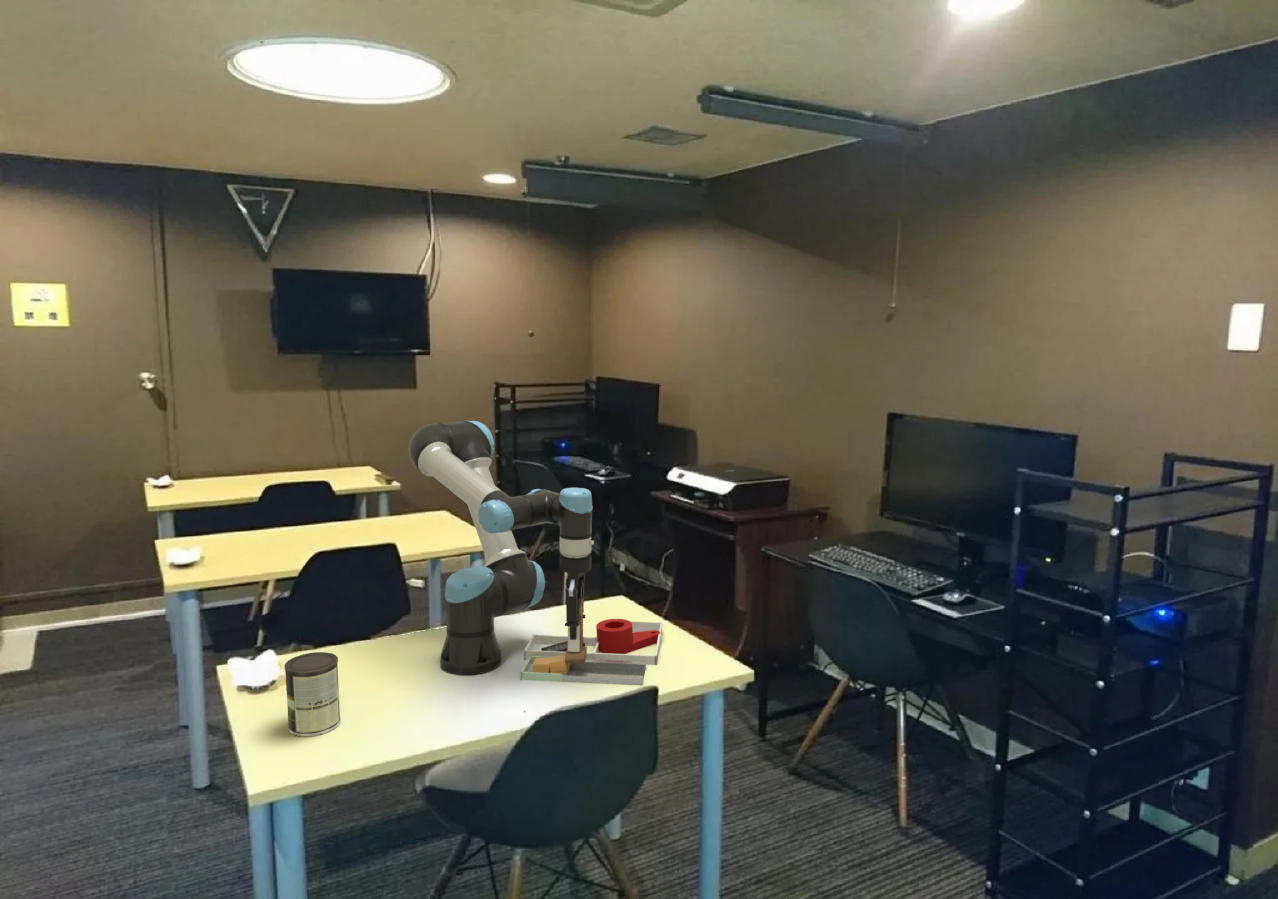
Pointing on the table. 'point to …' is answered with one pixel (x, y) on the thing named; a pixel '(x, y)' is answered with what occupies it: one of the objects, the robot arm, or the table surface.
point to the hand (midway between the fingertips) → (575, 647)
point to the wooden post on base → (582, 654)
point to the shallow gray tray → (606, 672)
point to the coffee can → (312, 693)
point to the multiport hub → (558, 647)
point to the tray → (538, 676)
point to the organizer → (597, 645)
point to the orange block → (558, 664)
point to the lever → (622, 637)
